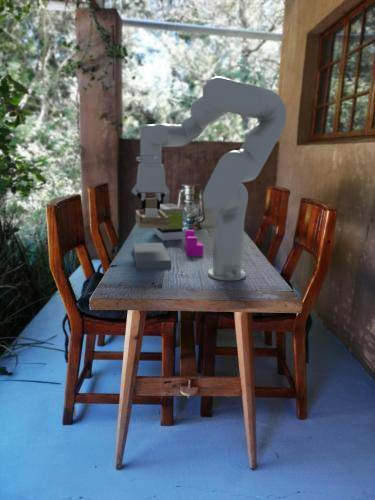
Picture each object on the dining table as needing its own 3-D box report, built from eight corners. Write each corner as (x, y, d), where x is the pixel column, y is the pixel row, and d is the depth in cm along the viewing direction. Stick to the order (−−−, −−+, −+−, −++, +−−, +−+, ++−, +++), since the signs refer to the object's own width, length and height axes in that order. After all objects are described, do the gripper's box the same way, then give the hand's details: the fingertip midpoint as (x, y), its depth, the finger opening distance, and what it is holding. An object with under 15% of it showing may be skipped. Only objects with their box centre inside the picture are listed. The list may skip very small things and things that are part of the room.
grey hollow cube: (154, 211, 258) (154, 188, 254) (178, 211, 261) (178, 188, 257) (156, 215, 244) (156, 191, 241) (181, 215, 247) (182, 191, 243)
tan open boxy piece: (168, 227, 139) (169, 201, 137) (139, 228, 137) (139, 201, 135) (160, 218, 162) (160, 196, 160) (135, 218, 160) (135, 196, 158)
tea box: (152, 233, 196) (152, 203, 192) (172, 232, 200) (172, 203, 196) (162, 240, 183) (162, 208, 179) (182, 239, 186) (183, 207, 182)
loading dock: (171, 268, 143) (171, 260, 142) (137, 269, 140) (137, 261, 140) (162, 249, 167) (162, 242, 167) (133, 250, 165) (132, 243, 164)
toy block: (202, 256, 160) (203, 238, 158) (187, 256, 159) (187, 237, 157) (199, 247, 174) (199, 230, 172) (184, 246, 174) (185, 229, 172)
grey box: (157, 220, 141) (157, 209, 140) (146, 220, 140) (146, 209, 140) (156, 219, 145) (156, 208, 144) (145, 219, 144) (145, 208, 143)
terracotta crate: (64, 405, 174) (64, 413, 175) (65, 410, 171) (66, 418, 172) (73, 403, 176) (74, 411, 177) (75, 408, 173) (75, 416, 174)
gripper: (127, 160, 139) (128, 212, 144) (175, 161, 142) (174, 212, 147) (127, 159, 146) (127, 209, 151) (172, 160, 150) (171, 209, 154)
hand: (150, 210), depth 149 cm, fingers closed on tan open boxy piece, 4 cm apart
